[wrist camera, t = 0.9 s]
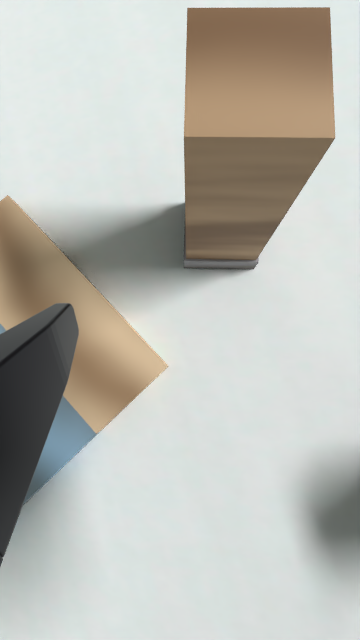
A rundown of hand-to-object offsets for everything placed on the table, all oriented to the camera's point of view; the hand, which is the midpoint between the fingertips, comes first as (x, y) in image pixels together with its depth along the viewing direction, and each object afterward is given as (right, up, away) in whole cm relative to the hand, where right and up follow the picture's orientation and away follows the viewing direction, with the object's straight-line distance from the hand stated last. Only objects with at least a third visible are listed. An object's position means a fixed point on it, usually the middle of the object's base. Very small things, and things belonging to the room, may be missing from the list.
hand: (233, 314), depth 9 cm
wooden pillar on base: (+1, +6, +14) cm, 15 cm away
